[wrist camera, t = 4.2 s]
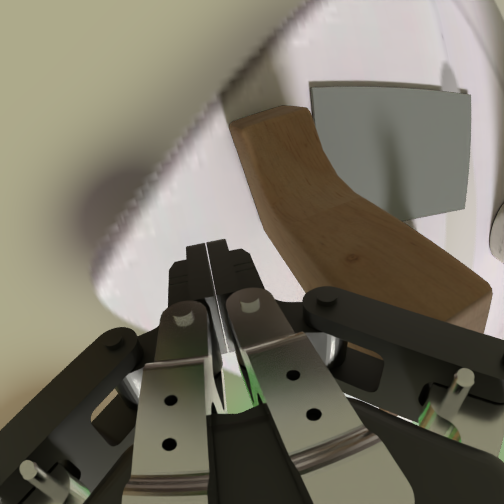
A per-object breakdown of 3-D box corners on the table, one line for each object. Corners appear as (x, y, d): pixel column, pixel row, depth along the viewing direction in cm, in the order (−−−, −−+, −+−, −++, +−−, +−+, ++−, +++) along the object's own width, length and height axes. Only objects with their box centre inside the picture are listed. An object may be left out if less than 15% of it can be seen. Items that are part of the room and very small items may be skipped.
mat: (468, 94, 23) (470, 94, 23) (462, 207, 29) (464, 208, 29) (310, 87, 21) (312, 87, 21) (319, 235, 27) (321, 237, 27)
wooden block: (226, 122, 21) (376, 197, 6) (286, 103, 21) (510, 145, 6) (264, 232, 26) (387, 425, 10) (315, 212, 26) (476, 368, 10)
